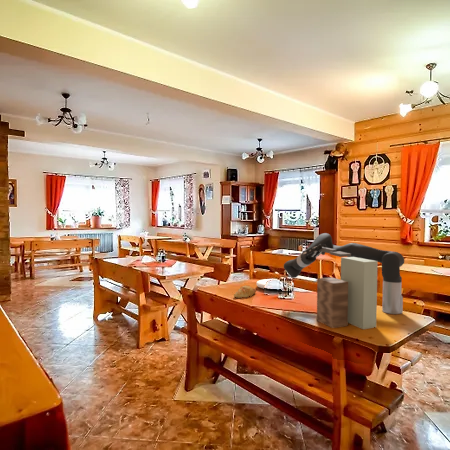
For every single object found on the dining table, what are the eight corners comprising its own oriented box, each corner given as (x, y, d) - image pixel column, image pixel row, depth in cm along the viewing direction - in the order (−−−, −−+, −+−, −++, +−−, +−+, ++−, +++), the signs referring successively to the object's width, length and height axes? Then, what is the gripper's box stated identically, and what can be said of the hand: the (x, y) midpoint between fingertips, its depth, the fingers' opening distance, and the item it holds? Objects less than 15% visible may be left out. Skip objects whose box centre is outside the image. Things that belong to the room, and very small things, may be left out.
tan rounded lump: (237, 304, 209) (241, 294, 206) (227, 295, 215) (231, 285, 212) (258, 297, 224) (262, 288, 221) (248, 288, 230) (252, 279, 227)
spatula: (312, 250, 175) (312, 246, 174) (321, 249, 177) (321, 245, 176) (340, 256, 154) (340, 252, 154) (351, 256, 156) (351, 252, 156)
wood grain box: (316, 320, 169) (317, 278, 168) (331, 318, 172) (331, 277, 172) (332, 328, 158) (333, 283, 157) (347, 325, 161) (348, 282, 160)
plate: (258, 277, 256) (293, 278, 251) (258, 285, 256) (293, 287, 250) (254, 280, 229) (294, 282, 223) (254, 290, 228) (293, 292, 223)
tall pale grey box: (340, 319, 171) (341, 257, 170) (352, 317, 174) (353, 256, 173) (363, 329, 156) (364, 262, 155) (376, 327, 159) (377, 261, 158)
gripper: (318, 264, 186) (336, 252, 171) (297, 265, 181) (314, 253, 166) (314, 251, 189) (332, 239, 175) (293, 252, 184) (309, 239, 170)
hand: (323, 246), depth 171 cm, fingers closed on spatula, 2 cm apart
